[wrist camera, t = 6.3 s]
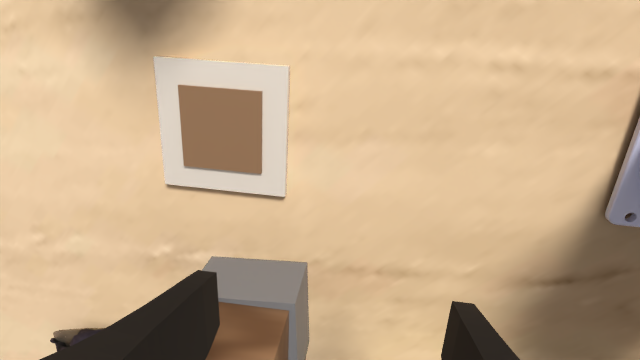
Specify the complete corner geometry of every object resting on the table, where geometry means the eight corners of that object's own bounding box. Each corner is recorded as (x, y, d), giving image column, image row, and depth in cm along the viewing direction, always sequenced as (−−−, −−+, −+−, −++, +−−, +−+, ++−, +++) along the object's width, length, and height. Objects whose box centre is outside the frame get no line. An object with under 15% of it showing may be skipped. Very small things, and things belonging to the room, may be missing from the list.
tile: (289, 65, 20) (287, 66, 19) (286, 193, 22) (284, 198, 22) (157, 56, 20) (151, 56, 20) (168, 181, 23) (163, 185, 22)
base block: (307, 261, 24) (295, 303, 20) (309, 339, 26) (298, 390, 22) (212, 255, 24) (184, 295, 21) (222, 331, 27) (197, 379, 23)
